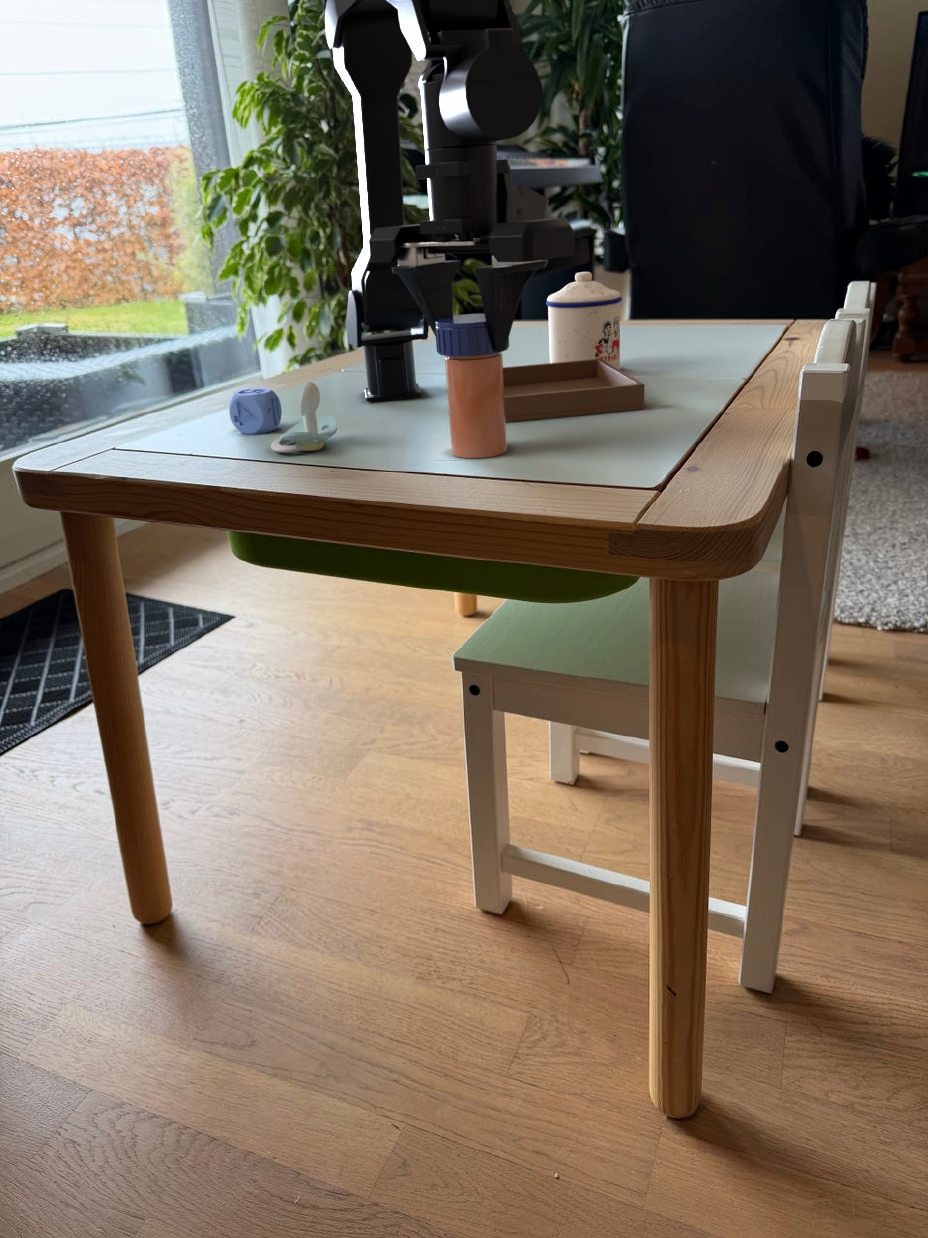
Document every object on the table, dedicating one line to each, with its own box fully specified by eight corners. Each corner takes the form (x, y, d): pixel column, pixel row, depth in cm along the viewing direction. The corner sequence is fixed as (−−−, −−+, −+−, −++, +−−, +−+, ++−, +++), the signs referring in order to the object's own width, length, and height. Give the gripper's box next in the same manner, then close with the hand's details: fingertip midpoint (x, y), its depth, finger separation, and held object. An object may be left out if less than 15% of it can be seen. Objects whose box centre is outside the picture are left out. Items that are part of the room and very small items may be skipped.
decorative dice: (266, 434, 98) (260, 395, 96) (232, 434, 99) (225, 395, 97) (284, 425, 101) (278, 387, 100) (251, 425, 102) (245, 387, 101)
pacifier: (261, 459, 89) (323, 455, 88) (249, 392, 86) (312, 387, 85) (287, 440, 95) (344, 436, 94) (275, 377, 93) (334, 372, 92)
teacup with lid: (609, 379, 112) (608, 275, 108) (537, 377, 116) (534, 277, 111) (636, 361, 122) (637, 265, 117) (570, 360, 126) (568, 267, 121)
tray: (474, 391, 111) (472, 369, 110) (600, 379, 112) (600, 358, 111) (497, 422, 95) (496, 398, 94) (644, 408, 97) (644, 384, 96)
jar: (448, 447, 88) (439, 325, 83) (502, 441, 88) (495, 320, 84) (455, 460, 83) (446, 332, 79) (511, 455, 84) (505, 327, 79)
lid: (474, 358, 78) (472, 324, 77) (422, 354, 82) (419, 321, 81) (524, 346, 82) (522, 314, 81) (472, 343, 86) (470, 312, 85)
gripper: (616, 136, 75) (616, 340, 81) (449, 154, 87) (460, 330, 93) (524, 138, 67) (532, 362, 74) (356, 158, 80) (375, 348, 86)
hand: (472, 349), depth 82 cm, fingers closed on lid, 6 cm apart
